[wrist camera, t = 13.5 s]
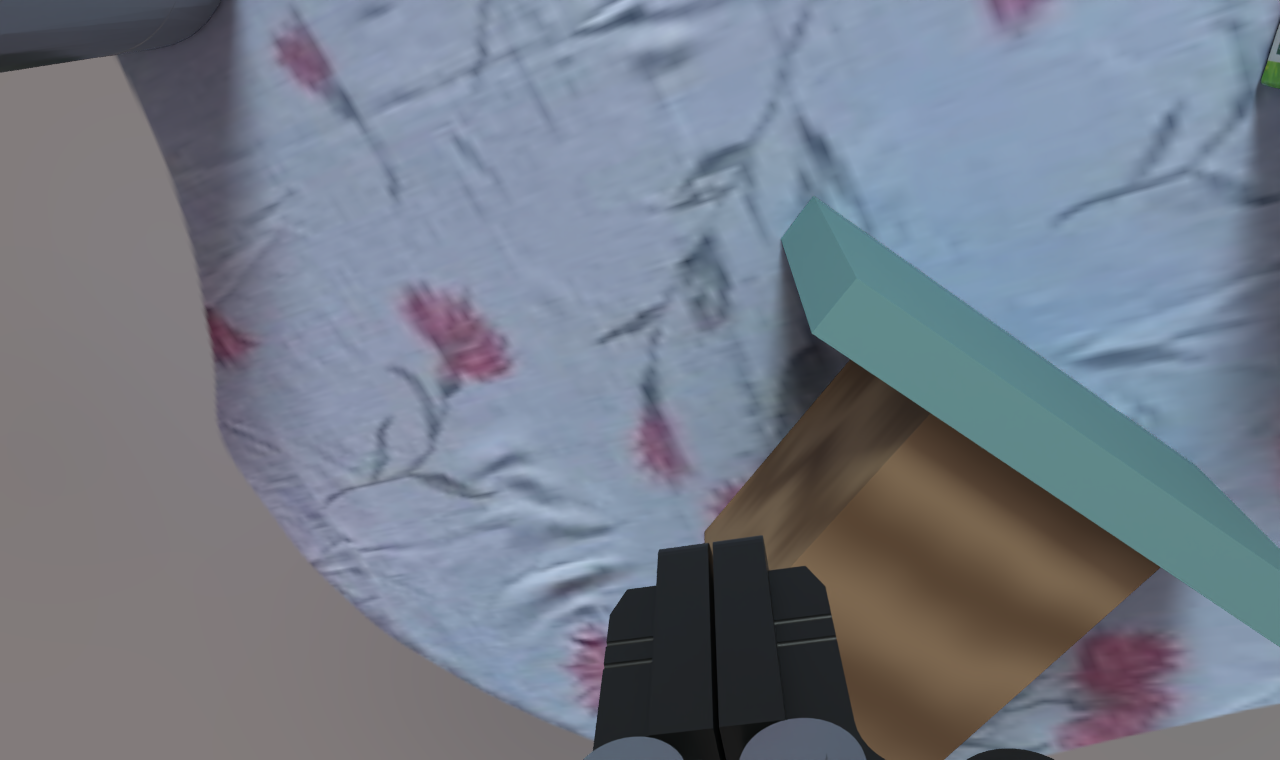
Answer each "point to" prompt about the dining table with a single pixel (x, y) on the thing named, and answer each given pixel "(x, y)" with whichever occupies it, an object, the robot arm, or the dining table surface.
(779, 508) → the walnut block
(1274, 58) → the syrup box
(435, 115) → the dining table surface
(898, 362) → the teal board
